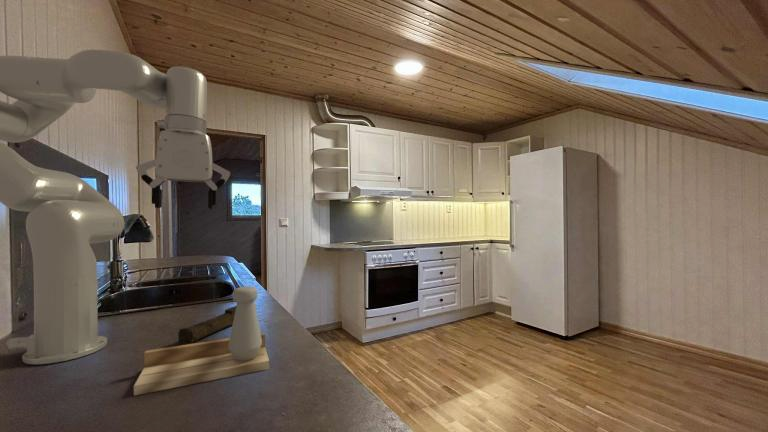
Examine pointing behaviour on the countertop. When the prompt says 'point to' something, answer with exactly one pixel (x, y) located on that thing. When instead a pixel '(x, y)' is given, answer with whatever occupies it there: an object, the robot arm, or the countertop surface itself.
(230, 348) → the salt shaker
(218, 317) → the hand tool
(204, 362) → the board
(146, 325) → the countertop surface
